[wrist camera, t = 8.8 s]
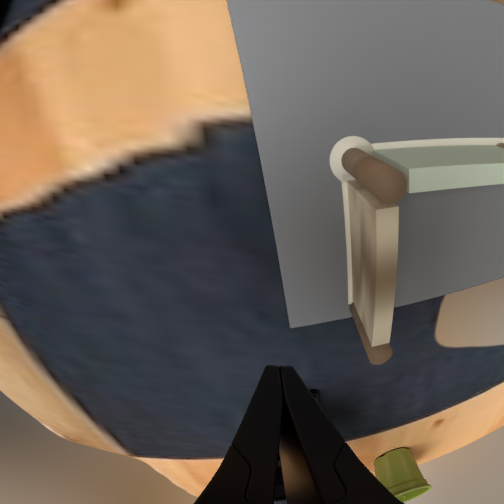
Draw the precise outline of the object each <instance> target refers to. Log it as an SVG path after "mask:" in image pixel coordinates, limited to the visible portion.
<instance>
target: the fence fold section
mask: <svg viewBox="0 0 504 504" xmlns="http://www.w3.org/2000/svg"><path fill="white" fill-rule="evenodd" d="M373 153H374V157H375V158H377V159H379V160H381V161H382V162H384V163H386V164H388V165H389V166H391V167H393V168H394V169H396V170H398V171H399V172H401V173H402V174H403V175H404V177H405V179H406V183H407V187H406V191H407V192H408V193H417V192H426V191H435V190H444V189H454V188H464V187H474V186H485V185H496V184H504V143H498V144H497V145H496V146H495V145H453V146H426V147H408V148H393V149H380V150H373Z"/></svg>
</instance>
